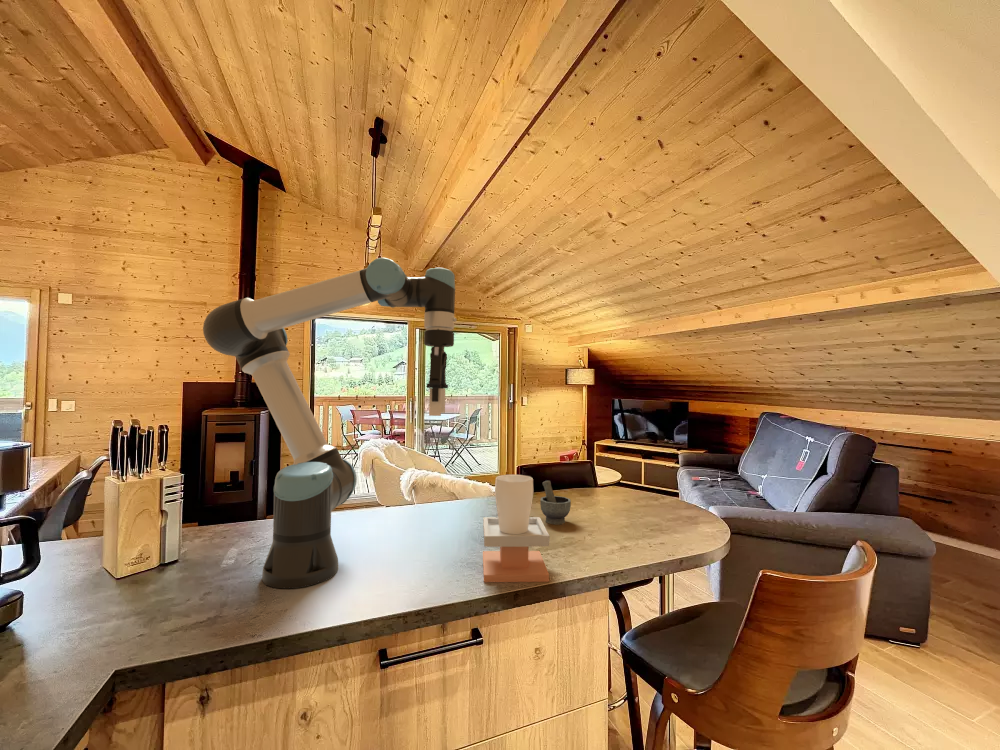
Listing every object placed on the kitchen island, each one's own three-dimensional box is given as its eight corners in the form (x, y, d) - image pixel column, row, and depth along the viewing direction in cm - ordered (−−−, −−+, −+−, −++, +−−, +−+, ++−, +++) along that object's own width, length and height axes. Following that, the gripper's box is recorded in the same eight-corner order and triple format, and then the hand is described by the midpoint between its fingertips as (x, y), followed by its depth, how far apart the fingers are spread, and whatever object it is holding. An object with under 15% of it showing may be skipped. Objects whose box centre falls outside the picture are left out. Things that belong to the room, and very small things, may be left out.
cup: (530, 537, 97) (530, 483, 98) (490, 534, 99) (491, 480, 100) (535, 525, 106) (535, 475, 107) (498, 522, 108) (499, 473, 108)
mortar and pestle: (577, 523, 136) (577, 484, 137) (552, 528, 132) (552, 487, 132) (555, 514, 146) (556, 478, 147) (531, 518, 142) (532, 480, 142)
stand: (483, 582, 94) (484, 536, 94) (482, 557, 108) (483, 517, 108) (548, 581, 95) (549, 536, 95) (539, 557, 109) (539, 517, 109)
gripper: (451, 323, 100) (449, 417, 99) (456, 336, 125) (454, 411, 124) (418, 322, 100) (415, 416, 99) (429, 336, 124) (428, 411, 124)
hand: (437, 414), depth 111 cm, fingers open, 13 cm apart
